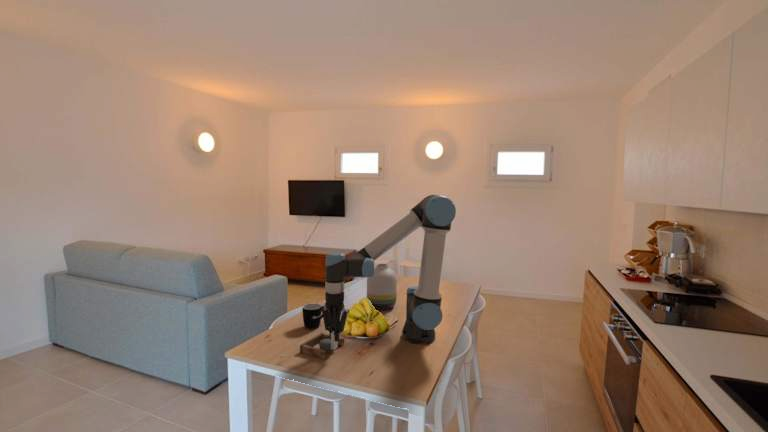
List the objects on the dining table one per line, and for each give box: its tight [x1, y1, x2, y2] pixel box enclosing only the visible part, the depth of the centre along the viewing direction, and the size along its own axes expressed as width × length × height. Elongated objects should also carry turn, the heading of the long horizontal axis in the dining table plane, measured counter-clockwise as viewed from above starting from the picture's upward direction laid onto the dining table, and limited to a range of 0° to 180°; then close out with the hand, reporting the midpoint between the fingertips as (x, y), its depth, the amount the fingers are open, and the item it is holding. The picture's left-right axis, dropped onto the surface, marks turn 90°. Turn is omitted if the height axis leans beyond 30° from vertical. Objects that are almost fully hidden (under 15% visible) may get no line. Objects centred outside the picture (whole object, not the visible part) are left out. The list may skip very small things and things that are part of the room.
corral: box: [299, 332, 345, 360], centre depth 149 cm, size 12×14×3 cm
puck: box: [318, 339, 335, 354], centre depth 148 cm, size 6×6×4 cm
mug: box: [302, 302, 323, 330], centre depth 172 cm, size 12×9×10 cm
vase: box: [366, 263, 398, 310], centre depth 202 cm, size 17×17×24 cm
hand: (334, 347), depth 146 cm, fingers closed
